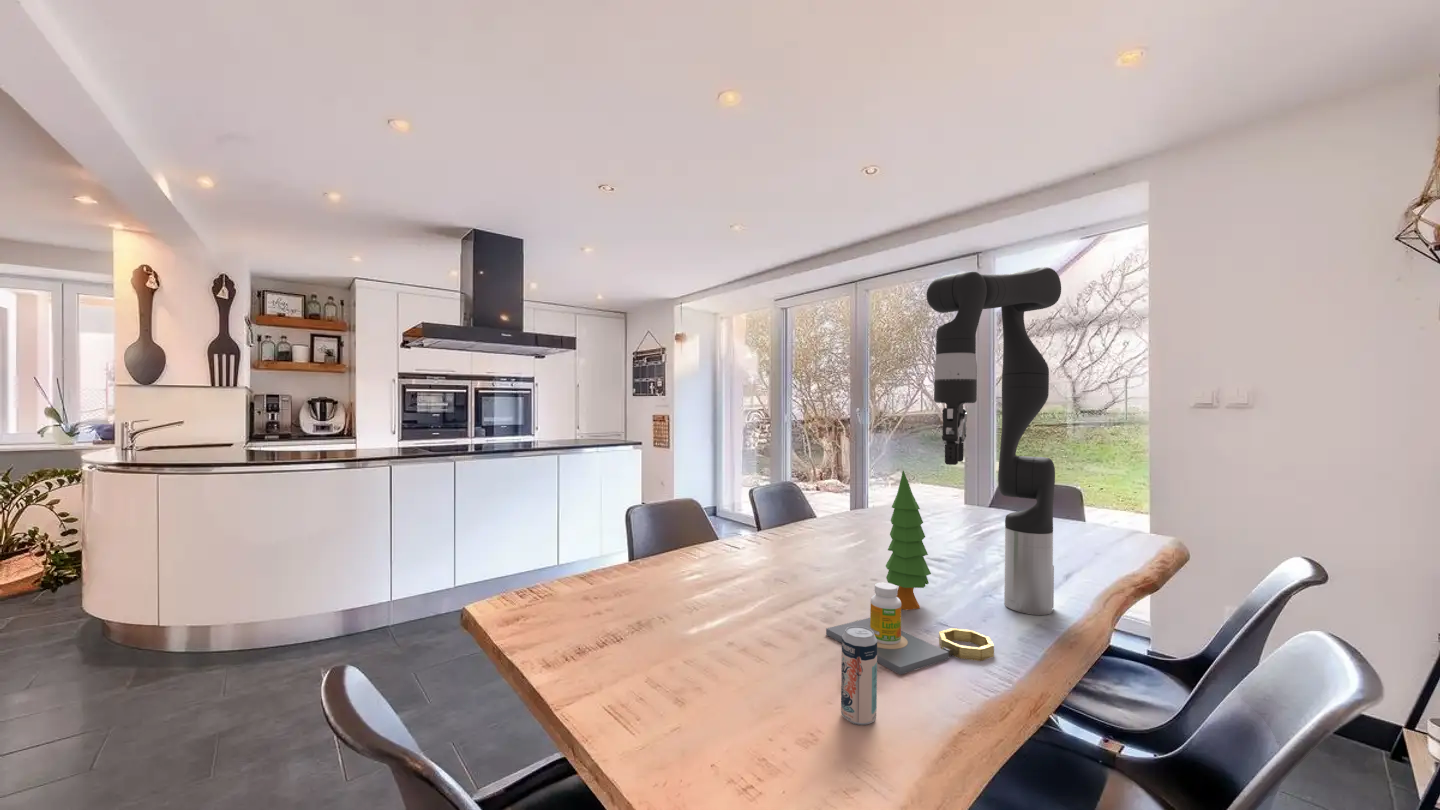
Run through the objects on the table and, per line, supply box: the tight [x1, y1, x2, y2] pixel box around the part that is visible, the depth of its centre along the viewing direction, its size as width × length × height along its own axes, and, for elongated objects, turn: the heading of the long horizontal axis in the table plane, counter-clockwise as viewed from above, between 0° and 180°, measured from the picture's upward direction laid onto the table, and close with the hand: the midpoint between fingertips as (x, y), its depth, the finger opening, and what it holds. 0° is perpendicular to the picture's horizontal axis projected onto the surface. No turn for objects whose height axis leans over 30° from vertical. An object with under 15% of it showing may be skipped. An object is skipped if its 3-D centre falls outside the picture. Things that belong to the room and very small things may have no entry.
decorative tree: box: [885, 470, 932, 611], centre depth 122 cm, size 10×9×30 cm
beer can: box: [840, 626, 878, 726], centre depth 77 cm, size 5×5×12 cm
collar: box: [938, 627, 995, 662], centre depth 99 cm, size 11×9×2 cm
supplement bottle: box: [869, 581, 902, 645], centre depth 100 cm, size 5×5×10 cm
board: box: [825, 617, 950, 676], centre depth 100 cm, size 12×18×1 cm, turn 30°
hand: (954, 462), depth 106 cm, fingers open, 8 cm apart
